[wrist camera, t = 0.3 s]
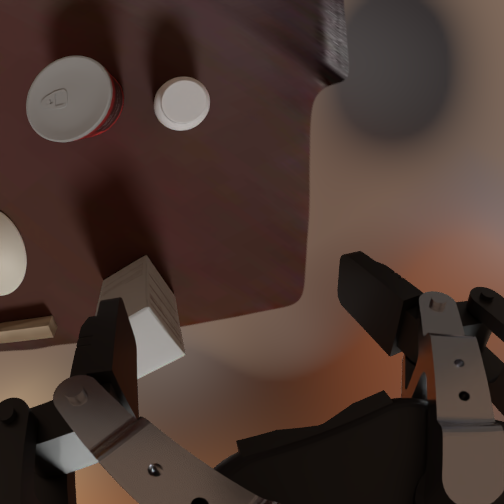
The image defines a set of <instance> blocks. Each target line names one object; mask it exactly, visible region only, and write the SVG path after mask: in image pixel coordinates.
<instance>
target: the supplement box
mask: <svg viewBox="0 0 504 504" xmlns="http://www.w3.org/2000/svg"><path fill="white" fill-rule="evenodd" d="M118 297H121V298H122V299H123V302H124V305H125V308H126V311H127V314H128V318H129V321H130V324H131V327H132V330H133V333H134V336H135V341H136V346H137V379H139V378H141V377H143V376H145V375H147V374H148V373H151V372H153V371H155V370H157V369H159V368H161V367H163V366H165V365H167V364H169V363H171V362H173V361H175V360H177V359H179V358H181V357H183V356H185V350H184V344H183V339H182V334H181V329H180V324H179V318H178V311H177V306H176V299H175V295H174V294H173V293H172V291H171V290H170V288H169V287H168V286H167V284H166V283H165V281H164V280H163V278H162V277H161V275H160V274H159V272H158V271H157V270H156V268H155V267H154V265H153V264H152V262H151V261H150V259H149V258H148V256H147V255H145V256H143V257H142V258H140V259H138V260H136V261H135V262H133V263H131V264H130V265H128V266H126V267H125V268H123V269H121V270H120V271H118V272H116V273H115V274H113V275H112V276H110V277H108V278H107V279H105V280H103V284H102V288H101V292H100V296H99V301H98V305H97V310H96V314H95V316H97V312H98V308H99V303H100V301H101V300H106V299H112V298H118Z"/></svg>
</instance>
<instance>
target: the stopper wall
mask: <svg viewBox="0 0 504 504" xmlns="http://www.w3.org/2000/svg"><path fill="white" fill-rule="evenodd" d="M56 329H57V325H56V323H55V321H54V318H53V316H45V317H39V318H32V319H25V320H18V321H10V322H3V323H0V343H8V342H17V341H26V340H35V339H43V338H51V337H54V334H55V332H56Z"/></svg>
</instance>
